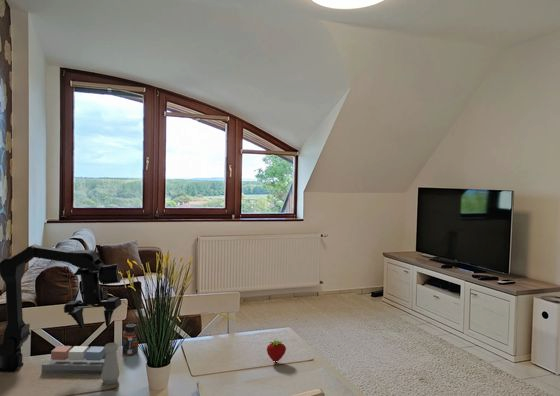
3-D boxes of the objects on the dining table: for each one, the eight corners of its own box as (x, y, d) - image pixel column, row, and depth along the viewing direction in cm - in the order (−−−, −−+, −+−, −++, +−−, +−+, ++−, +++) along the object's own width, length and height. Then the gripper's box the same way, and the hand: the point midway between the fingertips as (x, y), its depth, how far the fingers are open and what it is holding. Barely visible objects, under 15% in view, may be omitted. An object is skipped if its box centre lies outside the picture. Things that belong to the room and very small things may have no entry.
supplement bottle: (133, 357, 164) (134, 328, 163) (119, 355, 165) (119, 327, 164) (140, 351, 170) (141, 323, 169) (127, 349, 171) (127, 322, 170)
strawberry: (287, 365, 163) (288, 339, 162) (267, 366, 161) (269, 340, 160) (283, 358, 168) (284, 334, 168) (264, 360, 166) (265, 335, 166)
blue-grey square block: (85, 360, 152) (85, 352, 152) (91, 354, 157) (91, 346, 157) (100, 360, 152) (100, 352, 152) (104, 354, 157) (105, 346, 157)
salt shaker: (112, 387, 141) (113, 348, 140) (97, 384, 142) (98, 346, 141) (122, 379, 146) (123, 342, 146) (107, 376, 148) (108, 340, 147)
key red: (51, 359, 151) (51, 351, 151) (57, 353, 156) (57, 345, 156) (65, 359, 151) (65, 351, 151) (71, 354, 156) (71, 346, 156)
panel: (41, 373, 148) (41, 364, 148) (57, 359, 160) (57, 350, 160) (100, 374, 149) (100, 365, 149) (112, 359, 161) (112, 351, 161)
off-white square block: (68, 359, 151) (68, 351, 151) (74, 354, 156) (74, 346, 156) (82, 360, 152) (82, 351, 152) (88, 354, 157) (88, 346, 157)
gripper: (125, 278, 160) (129, 318, 161) (76, 281, 161) (81, 322, 162) (112, 286, 149) (117, 329, 150) (60, 290, 150) (65, 333, 151)
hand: (95, 328), depth 154 cm, fingers open, 9 cm apart
